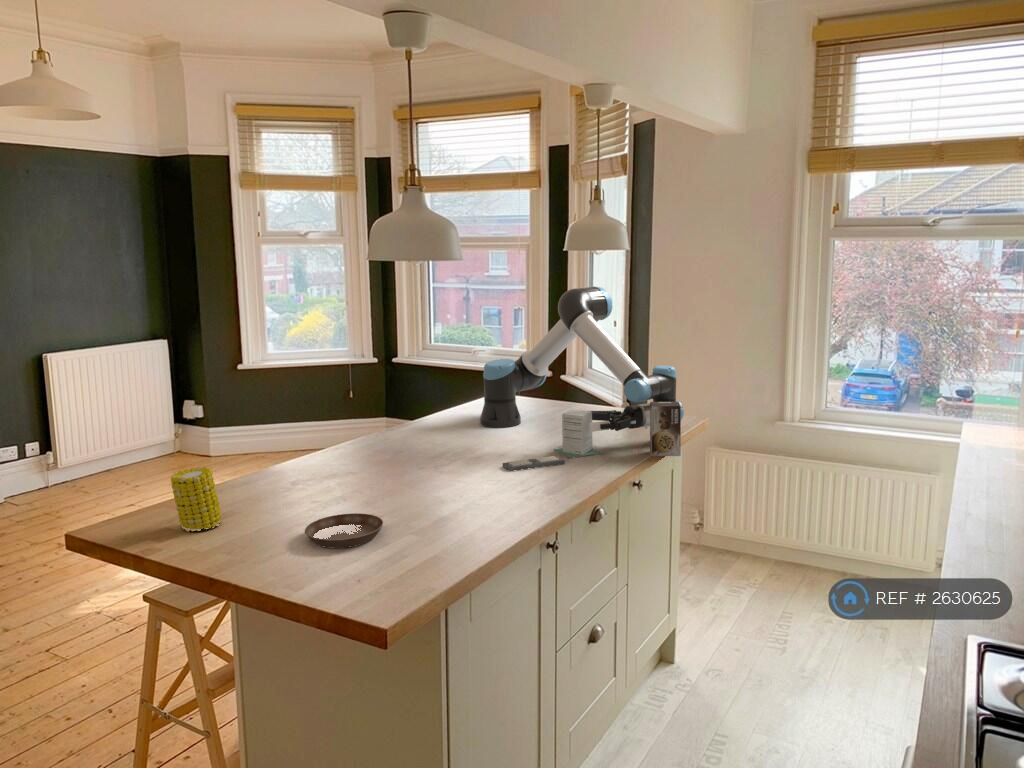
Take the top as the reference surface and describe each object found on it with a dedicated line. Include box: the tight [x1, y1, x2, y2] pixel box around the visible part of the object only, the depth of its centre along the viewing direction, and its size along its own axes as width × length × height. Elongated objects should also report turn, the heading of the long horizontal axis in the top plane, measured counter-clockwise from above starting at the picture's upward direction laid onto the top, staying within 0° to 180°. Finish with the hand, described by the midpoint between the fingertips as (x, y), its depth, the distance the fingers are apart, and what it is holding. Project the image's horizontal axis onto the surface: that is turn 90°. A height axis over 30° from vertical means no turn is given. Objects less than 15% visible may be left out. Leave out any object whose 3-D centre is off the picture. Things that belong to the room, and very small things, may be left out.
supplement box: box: [561, 409, 593, 455], centre depth 248 cm, size 7×7×13 cm
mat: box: [553, 447, 602, 459], centre depth 249 cm, size 11×11×1 cm
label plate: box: [502, 455, 566, 472], centre depth 235 cm, size 6×18×2 cm, turn 112°
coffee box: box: [649, 401, 682, 457], centre depth 244 cm, size 9×6×16 cm
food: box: [170, 466, 222, 530], centre depth 188 cm, size 15×12×10 cm
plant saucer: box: [304, 512, 384, 549], centre depth 180 cm, size 18×18×3 cm
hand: (579, 423), depth 248 cm, fingers open, 13 cm apart
